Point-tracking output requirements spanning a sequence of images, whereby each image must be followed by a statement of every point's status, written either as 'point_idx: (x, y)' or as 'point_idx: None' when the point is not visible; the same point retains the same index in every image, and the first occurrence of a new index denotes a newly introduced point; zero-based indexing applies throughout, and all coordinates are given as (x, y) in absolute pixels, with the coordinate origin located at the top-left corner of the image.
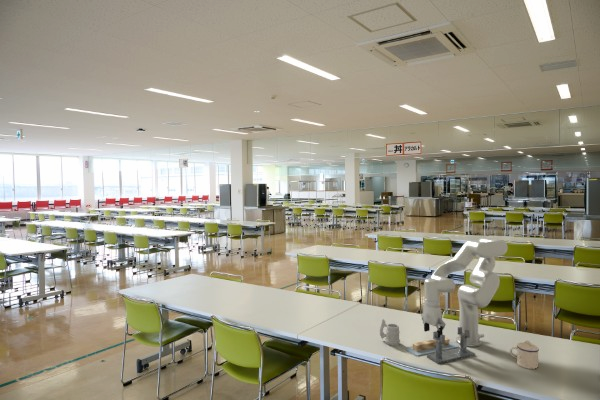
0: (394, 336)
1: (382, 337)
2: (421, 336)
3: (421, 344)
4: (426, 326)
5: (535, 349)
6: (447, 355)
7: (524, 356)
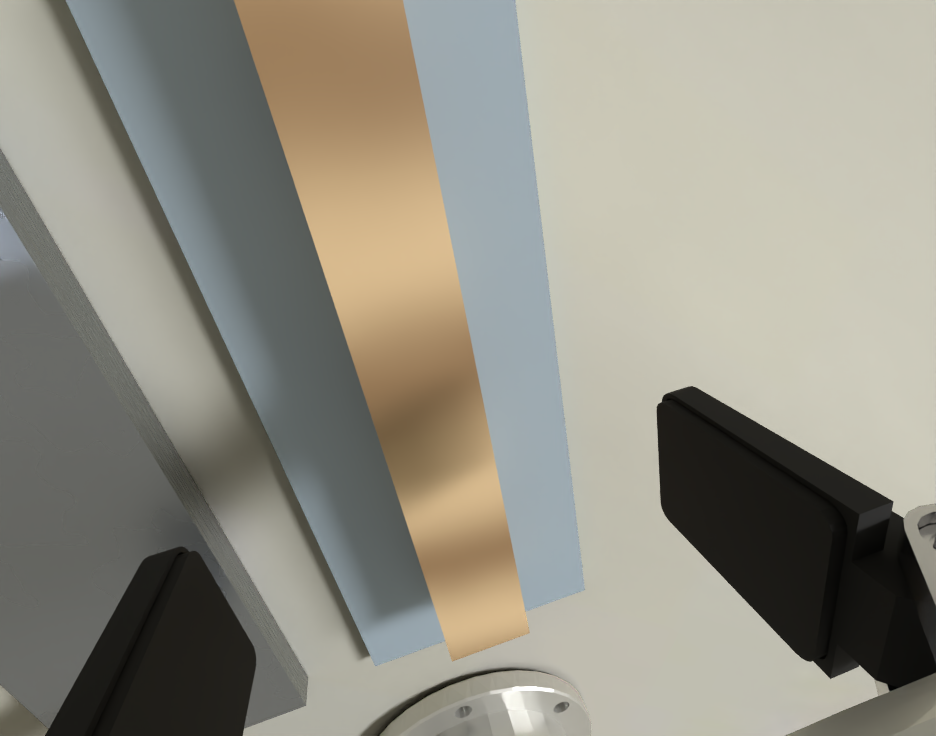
0: None
1: None
2: (774, 377)
3: (275, 69)
4: (759, 519)
5: None
6: None
7: None
